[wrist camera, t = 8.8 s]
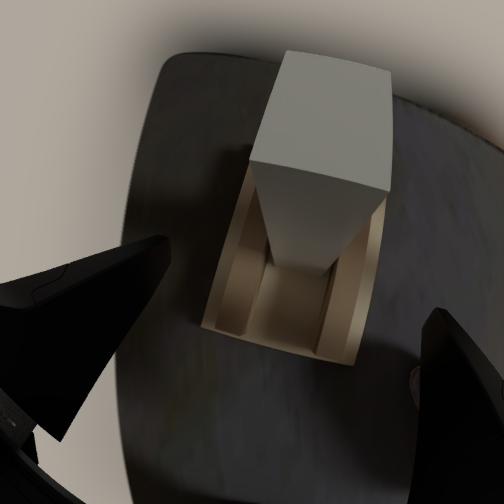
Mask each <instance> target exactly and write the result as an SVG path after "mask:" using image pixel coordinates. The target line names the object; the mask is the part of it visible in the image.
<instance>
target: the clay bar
mask: <svg viewBox="0 0 504 504" xmlns="http://www.w3.org/2000/svg"><path fill="white" fill-rule="evenodd" d="M392 138H393V118H392V89H391V73H390V72H389V71H385V70H382V69H378V68H375V67H371V66H368V65H364V64H360V63H355V62H351V61H347V60H342V59H337V58H333V57H327V56H322V55H316V54H310V53H303V52H296V51H287V52H286V54H285V57H284V59H283V62H282V65H281V68H280V70H279V73H278V76H277V79H276V82H275V84H274V87H273V90H272V93H271V96H270V99H269V102H268V105H267V107H266V110H265V113H264V116H263V119H262V122H261V125H260V128H259V131H258V134H257V137H256V140H255V143H254V146H253V149H252V152H251V155H250V158H249V161H250V165H251V169H252V173H253V177H254V181H255V185H256V189H257V194H258V198H259V202H260V206H261V210H262V214H263V218H264V222H265V226H266V231H267V235H268V239H269V243H270V247H271V252H272V256H273V260H274V264H275V266H279V267H283V268H287V269H291V270H295V271H299V272H304V273H308V274H312V275H316V276H320V277H321V276H322V275H323V274H324V273H325V272H326V271H327V269H328V268H329V267H330V266H331V265H332V264H333V262H334V261H335V260H336V259H337V258H338V257H339V255H340V254H341V253H342V252H343V251H344V249H345V248H346V247H347V246H348V245H349V243H350V242H351V241H352V240H353V238H354V237H355V236H356V235H357V233H358V232H359V231H360V230H361V229H362V227H363V226H364V225H365V224H366V222H367V221H368V220H369V218H370V217H371V216H372V215H373V213H374V212H375V211H376V209H377V208H378V207H379V206H380V204H381V203H382V202H383V200H384V199H385V198H386V196H387V195H388V194H389V192H390V185H391V169H392Z"/></svg>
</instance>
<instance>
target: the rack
mask: <svg viewBox="0 0 504 504" xmlns="http://www.w3.org/2000/svg"><path fill="white" fill-rule="evenodd" d="M385 205H386V198H385V199H384V200H383V202H382V203H381V204H380V206H379V207H378V208H377V209H376V211H375V212H374V213H373V215H372V216H371V217H370V218H369V220H368V221H367V222H366V224H365V225H364V226H363V227H362V229H361V230H360V231H359V232H358V233H357V235H356V236H355V237H354V238H353V240H352V241H351V242H350V243H349V245H348V246H347V247H346V248H345V249H344V251H343V252H342V253H341V254H340V255H339V257H338V258H337V259H336V260H335V261H334V262H333V264H332V265H331V266H330V267H329V268H328V269H327V271H326V272H325V273H324V274H323V275H322V276H321V277H320V276H316V275H312V274H308V273H304V272H299V271H295V270H291V269H287V268H283V267H279V266H275V264H274V260H273V256H272V252H271V247H270V243H269V239H268V235H267V231H266V226H265V222H264V218H263V214H262V210H261V206H260V202H259V198H258V194H257V189H256V185H255V181H254V177H253V173H252V169H251V165H250V163H249V166H248V169H247V172H246V175H245V179H244V182H243V185H242V188H241V191H240V194H239V198H238V201H237V204H236V207H235V210H234V214H233V217H232V220H231V224H230V227H229V230H228V233H227V237H226V240H225V243H224V247H223V250H222V254H221V257H220V260H219V264H218V267H217V271H216V274H215V277H214V281H213V284H212V288H211V291H210V295H209V299H208V302H207V306H206V309H205V313H204V316H203V320H202V324H201V327H203V328H206V329H209V330H212V331H215V332H218V333H222V334H225V335H228V336H232V337H235V338H238V339H242V340H245V341H249V342H252V343H256V344H260V345H263V346H267V347H271V348H275V349H279V350H283V351H287V352H291V353H295V354H299V355H303V356H307V357H312V358H316V359H321V360H325V361H330V362H335V363H340V364H345V365H350V366H354V363H355V359H356V356H357V352H358V349H359V345H360V341H361V338H362V334H363V330H364V326H365V322H366V317H367V313H368V309H369V304H370V300H371V295H372V290H373V285H374V280H375V274H376V269H377V263H378V257H379V251H380V244H381V237H382V230H383V222H384V214H385Z"/></svg>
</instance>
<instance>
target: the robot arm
mask: <svg viewBox="0 0 504 504" xmlns="http://www.w3.org/2000/svg"><path fill="white" fill-rule="evenodd" d="M170 263H171V242H170V239H169V238H168V237H166V236H162V235H156V236H152V237H149V238H145V239H142V240H139V241H136V242H132V243H129V244H126V245H123V246H119V247H116V248H113V249H110V250H107V251H104V252H101V253H98V254H94V255H92V256H88V257H86V258H82V259H79V260H77V261H73V262H71V263H70V264H64V265H62V266H59V267H56V268H53V269H50V270H47V271H44V272H40V273H37V274H33V275H30V276H26V277H23V278H19V279H16V280H13V281H9V282H6V283H1V284H0V504H86V503H84V502H83V501H81V500H80V499H78V498H77V497H76V496H74V495H73V494H72V493H70V492H69V491H68V490H66V489H65V488H64V487H62V486H61V485H60V484H59V483H57V482H56V481H55V480H54V479H52V478H51V477H50V476H49V475H48V474H46V473H45V472H44V471H43V470H42V469H41V468H40V467H39V466H38V463H39V462H38V457H37V451H36V445H35V438H34V433H33V432H32V431H33V429H34V428H35V427H36V425H37V424H38V425H39V426H40V427H41V428H43V429H44V430H45V431H46V432H48V433H49V434H50V435H51V436H52V437H54V438H55V439H56V440H57V441H59V442H61V441H62V439H63V437H64V435H65V434H66V432H67V430H68V428H69V427H70V425H71V423H72V421H73V419H74V418H75V416H76V414H77V413H78V411H79V409H80V407H81V406H82V404H83V403H84V401H85V399H86V398H87V396H88V394H89V392H90V391H91V389H92V387H93V386H94V384H95V382H96V381H97V379H98V378H99V376H100V375H101V373H102V371H103V370H104V368H105V367H106V365H107V363H108V362H109V360H110V359H111V357H112V356H113V354H114V353H115V351H116V350H117V348H118V346H119V345H120V343H121V342H122V340H123V339H124V337H125V336H126V334H127V333H128V331H129V330H130V328H131V327H132V325H133V324H134V323H135V321H136V320H137V318H138V317H139V315H140V314H141V312H142V311H143V309H144V308H145V306H146V305H147V304H148V302H149V301H150V299H151V297H152V296H153V294H154V292H155V290H156V289H157V287H158V285H159V283H160V281H161V280H162V278H163V276H164V274H165V272H166V271H167V269H168V267H169V265H170ZM407 504H504V380H502V377H501V376H500V374H499V373H498V372H497V370H496V369H495V368H494V366H493V365H492V364H491V362H490V361H489V360H488V358H487V357H486V356H485V355H484V353H483V352H482V351H481V350H480V348H479V347H478V346H477V345H476V343H475V342H474V341H473V340H472V339H471V337H470V336H469V335H468V334H467V333H466V332H465V330H464V329H463V328H462V327H461V326H460V325H459V323H458V322H457V321H456V320H455V319H454V318H453V317H452V315H451V314H450V313H449V312H448V311H447V310H446V309H442V308H438V307H437V308H435V309H434V310H433V311H432V313H431V314H430V316H429V317H428V319H427V320H426V322H425V324H424V325H423V328H422V339H421V357H420V397H419V421H418V435H417V446H416V455H415V463H414V470H413V476H412V482H411V487H410V492H409V497H408V502H407Z"/></svg>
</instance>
